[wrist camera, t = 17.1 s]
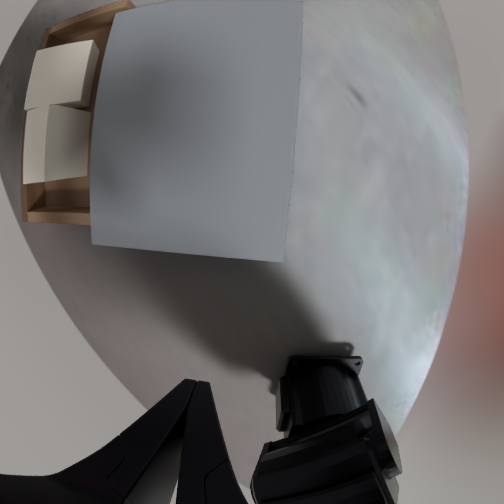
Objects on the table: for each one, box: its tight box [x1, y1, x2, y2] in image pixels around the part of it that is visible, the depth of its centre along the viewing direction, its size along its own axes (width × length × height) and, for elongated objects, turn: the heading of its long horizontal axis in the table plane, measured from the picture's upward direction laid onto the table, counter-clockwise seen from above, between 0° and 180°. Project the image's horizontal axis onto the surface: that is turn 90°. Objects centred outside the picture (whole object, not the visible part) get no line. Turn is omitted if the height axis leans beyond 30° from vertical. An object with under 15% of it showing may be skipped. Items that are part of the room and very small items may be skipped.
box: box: [21, 0, 136, 225], centre depth 15 cm, size 9×17×3 cm, turn 175°
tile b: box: [23, 104, 91, 184], centre depth 14 cm, size 5×5×2 cm
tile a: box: [24, 40, 99, 111], centre depth 13 cm, size 5×5×2 cm
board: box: [90, 0, 303, 263], centre depth 15 cm, size 12×16×4 cm
